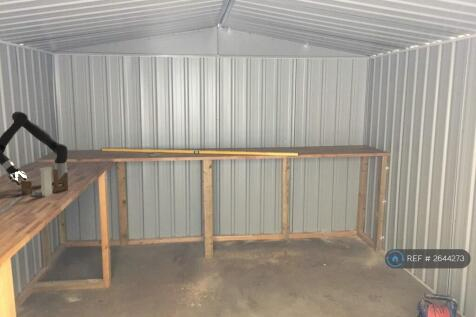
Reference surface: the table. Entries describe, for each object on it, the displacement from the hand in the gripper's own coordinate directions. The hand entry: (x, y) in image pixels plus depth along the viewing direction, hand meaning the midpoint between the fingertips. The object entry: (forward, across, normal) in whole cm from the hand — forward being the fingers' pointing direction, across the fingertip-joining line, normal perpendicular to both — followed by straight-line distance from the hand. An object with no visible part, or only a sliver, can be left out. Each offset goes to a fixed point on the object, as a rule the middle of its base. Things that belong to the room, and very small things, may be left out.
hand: (23, 183), depth 320 cm
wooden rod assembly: (+20, +16, -8) cm, 27 cm away
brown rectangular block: (+7, 0, +4) cm, 8 cm away
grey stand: (+16, 0, -5) cm, 17 cm away
